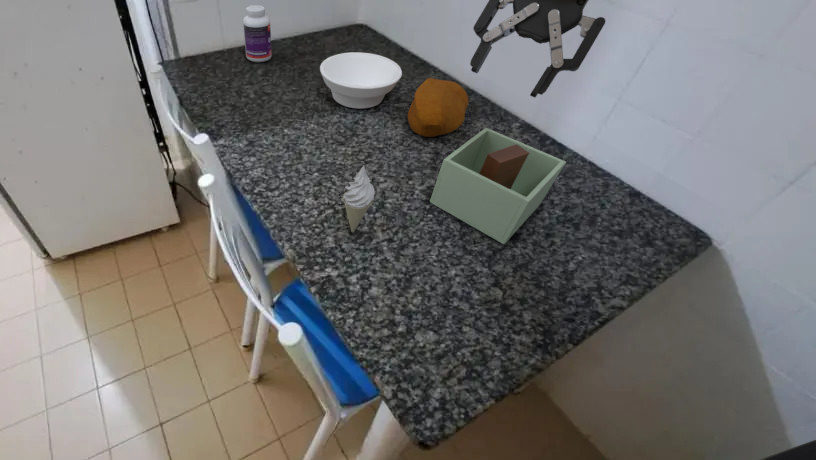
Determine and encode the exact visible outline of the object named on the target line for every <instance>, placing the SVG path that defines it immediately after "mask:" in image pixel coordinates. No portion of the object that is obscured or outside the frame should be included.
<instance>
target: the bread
mask: <svg viewBox="0 0 816 460" xmlns="http://www.w3.org/2000/svg"><path fill="white" fill-rule="evenodd" d="M468 105H469V95H468V94H467V92H466V91H465V89H464V87H463V86H462V85H460V84H459V83H457V82H456V81H451V80H445V79H437V78H432V77H427V78H426V79H425V80H424V81H423V82H422V83H421V84H420V85H419V86H418V87H417V89H416V90H415V92H414V97H413V100H412V102H411V104H410V107H409V109H408V111H407V121H408V125H409V127H410V129H411V130H412V131H413V132H414V133H415V134H417V135H419V136H422V137H425V138H434V137H438V136H441V135H442V136H443V135H446V134H449V133H453V131H456V130H457V129H458V128H460V127H461V126H462V124H463V123H464V121H465V118H466V117H465V116H466V111H467V108H468Z"/></svg>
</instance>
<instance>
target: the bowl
mask: <svg viewBox="0 0 816 460" xmlns="http://www.w3.org/2000/svg"><path fill="white" fill-rule="evenodd" d="M319 71H320V72H319V73H320V75H321V76H322V79H323V82H324V84H325V86H326V87H327V88H328V89H330V92H331V96H332V98H333V100H334V101H335V102H336V103H338V104H339V105H342V106H344V107H347V108H352V109H369V108H373V107H375V106H376V107H377V106H378V105H380V104H381V103H382V101H383V100H384V98H385V96H386V95H387V94H388V93H390V92H391V91H392V90H393V89H394V88H395V87H396V85H397V84H398V82H399V81H400V80H401V78H402V75H403V71H402V68H401V66H400V65H399V64H398V63H397V62H395V61H394V60H392V59H390V58H388V57H385V56H383V55H380V54H376V53H370V52H360V51H359V52H358V51H357V52H356V51H355V52H353V51H352V52H342V53H338V54H333V55H331V56H328V57H327V58H326V59H324V60H323V61H322V62H321V63H320V66H319Z"/></svg>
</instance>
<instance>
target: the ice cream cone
mask: <svg viewBox="0 0 816 460" xmlns="http://www.w3.org/2000/svg"><path fill="white" fill-rule="evenodd" d="M353 180H354V181H349V182H348V185H350V186H345V187H344V188H345V189H346V190H347V191H345V192H344V193H343V195H342V201H343V203H344V206H345V207H344V208H345V211H346V215H347V219H348V223H349V229H350V232H351V233H355V231H356V230H357V228H358V226H359V224H360V223H361V221H362V219H363V218H364V216H365V215H366V213H367V211H368V210H369V208H370V206H371V205H372V204H373V201H374V199H375V195H376V194H375V193H376V192H375V189H374V185H373V184H372V183H370V182H371V180H370V178H369V175H368V173H367V170H366V167H365V165H364V164H363V165H362V167H361V168H360V170H359V171H358V173H357V174H356V175H355V176H354V177H353Z"/></svg>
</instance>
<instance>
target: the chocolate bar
mask: <svg viewBox="0 0 816 460" xmlns="http://www.w3.org/2000/svg"><path fill="white" fill-rule="evenodd" d="M528 154H529V152H527V151H526V150H524V149H523V148H521V147H520V146H518V145H517V144H515V145H512V146H510V147H507V148H504V149H501V150H498V151H495V152H492V153H489V154H488V155H487V157H486V159H485V162H484V164H483V166H482V169H481V171H480V173H479V174H480V175H482V176H484V177H486V178H488V179H490V180H492V181H494V182H496V183H498V184H500V185H502V186H504V187H506V188H508V189H511V187H512V185H513V183H514V182H515V180H516V178H517V176H518V174H519V172H520V170H521V168H522V166H523V164H524V162H525V160H526V158H527V156H528Z"/></svg>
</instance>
